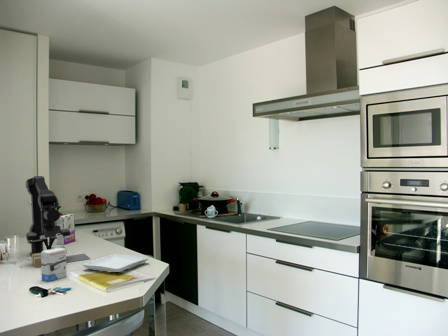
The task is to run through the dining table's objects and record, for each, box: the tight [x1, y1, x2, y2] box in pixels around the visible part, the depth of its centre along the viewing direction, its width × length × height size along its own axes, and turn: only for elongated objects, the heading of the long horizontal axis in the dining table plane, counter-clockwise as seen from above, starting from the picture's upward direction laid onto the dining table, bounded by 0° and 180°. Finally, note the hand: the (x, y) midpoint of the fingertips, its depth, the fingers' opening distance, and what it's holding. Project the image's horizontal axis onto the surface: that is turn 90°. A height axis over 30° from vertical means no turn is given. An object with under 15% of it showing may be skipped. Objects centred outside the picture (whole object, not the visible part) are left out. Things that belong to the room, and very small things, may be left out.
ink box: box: [40, 248, 68, 283], centre depth 157 cm, size 8×5×12 cm, turn 148°
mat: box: [66, 253, 91, 264], centre depth 189 cm, size 13×12×1 cm
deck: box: [31, 253, 41, 268], centre depth 182 cm, size 12×13×4 cm
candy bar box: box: [55, 213, 76, 246], centre depth 228 cm, size 11×5×16 cm, turn 168°
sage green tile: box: [51, 245, 68, 255], centre depth 185 cm, size 9×6×2 cm, turn 33°
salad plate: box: [82, 253, 149, 273], centre depth 172 cm, size 21×21×3 cm
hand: (48, 252), depth 182 cm, fingers closed
